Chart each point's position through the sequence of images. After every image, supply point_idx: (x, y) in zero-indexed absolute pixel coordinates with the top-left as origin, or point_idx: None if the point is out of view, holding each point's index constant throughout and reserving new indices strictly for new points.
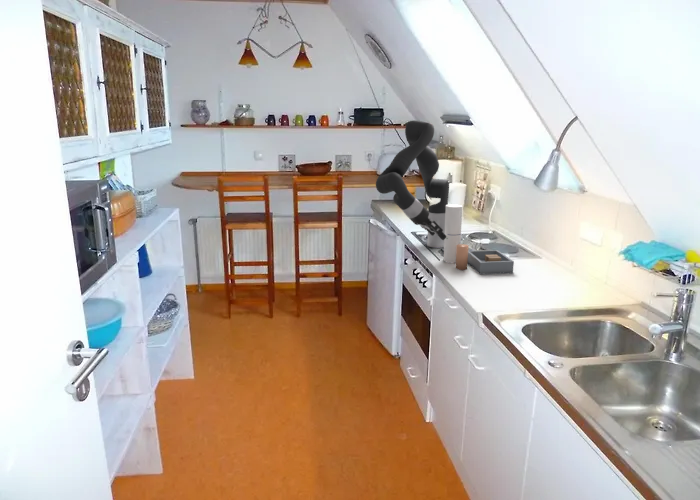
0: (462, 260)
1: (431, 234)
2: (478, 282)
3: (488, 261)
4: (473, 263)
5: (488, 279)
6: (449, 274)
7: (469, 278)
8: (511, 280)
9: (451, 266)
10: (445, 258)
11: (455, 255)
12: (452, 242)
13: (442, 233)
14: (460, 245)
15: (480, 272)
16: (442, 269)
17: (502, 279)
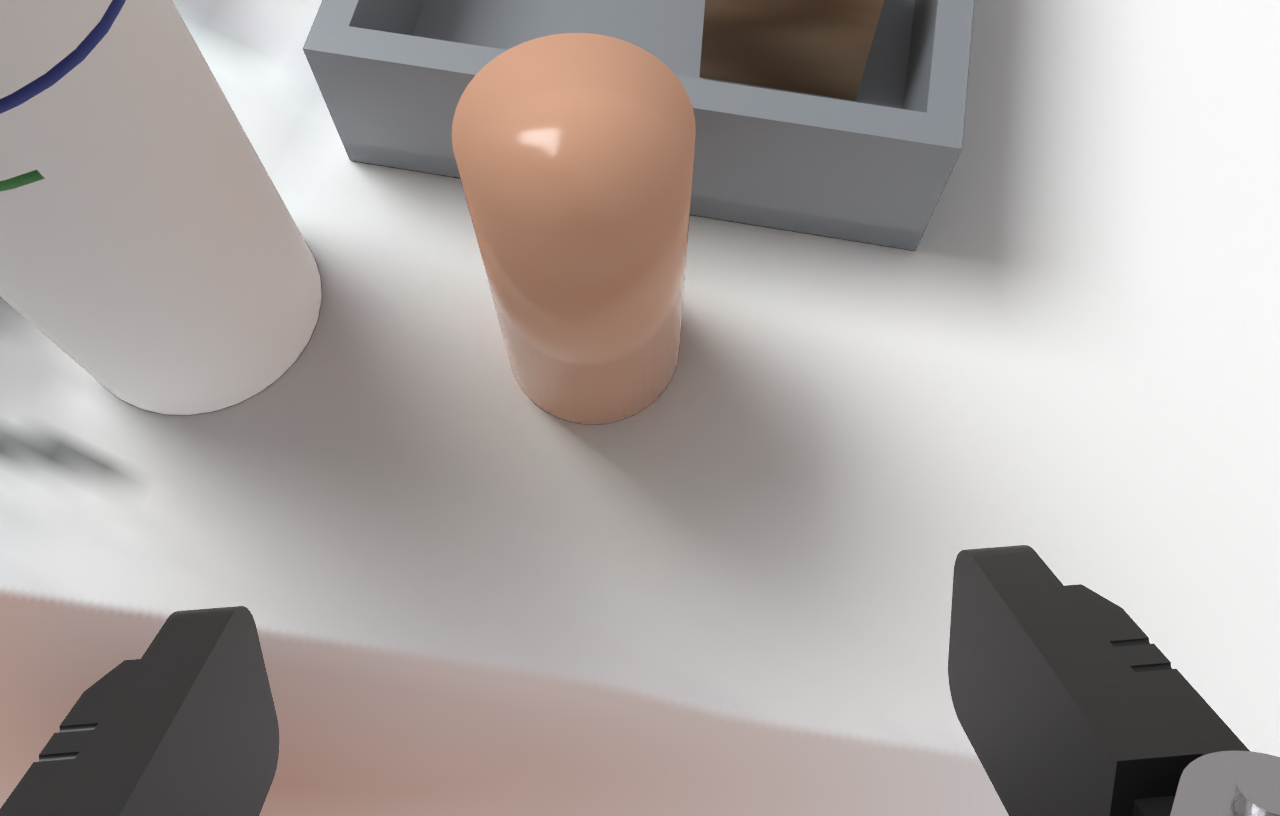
0: (677, 303)
1: (262, 804)
2: (1246, 423)
3: (857, 18)
4: None
5: (1137, 253)
6: (822, 642)
7: (1061, 454)
8: (1205, 50)
9: (463, 434)
10: (189, 391)
11: (284, 246)
12: (168, 158)
13: (1222, 738)
14: (545, 153)
15: (923, 231)
16: (553, 632)
17: (1158, 114)
